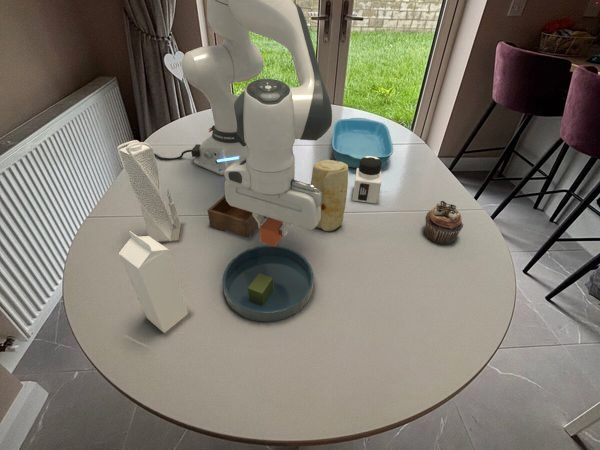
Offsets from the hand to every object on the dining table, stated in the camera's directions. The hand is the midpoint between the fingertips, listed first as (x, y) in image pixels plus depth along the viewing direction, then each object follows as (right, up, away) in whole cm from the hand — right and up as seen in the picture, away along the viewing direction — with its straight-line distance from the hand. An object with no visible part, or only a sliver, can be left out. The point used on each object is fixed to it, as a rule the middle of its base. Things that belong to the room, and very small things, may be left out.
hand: (272, 230), depth 71 cm
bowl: (-1, -13, +6) cm, 14 cm away
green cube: (-3, -14, +3) cm, 15 cm away
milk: (-22, -18, -1) cm, 28 cm away
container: (+27, +10, +36) cm, 46 cm away
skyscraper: (-31, -2, +19) cm, 36 cm away
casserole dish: (+29, +30, +61) cm, 74 cm away
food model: (+13, +1, +24) cm, 27 cm away
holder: (-11, +3, +25) cm, 27 cm away
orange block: (0, -2, +1) cm, 2 cm away
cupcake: (+45, -2, +22) cm, 50 cm away
